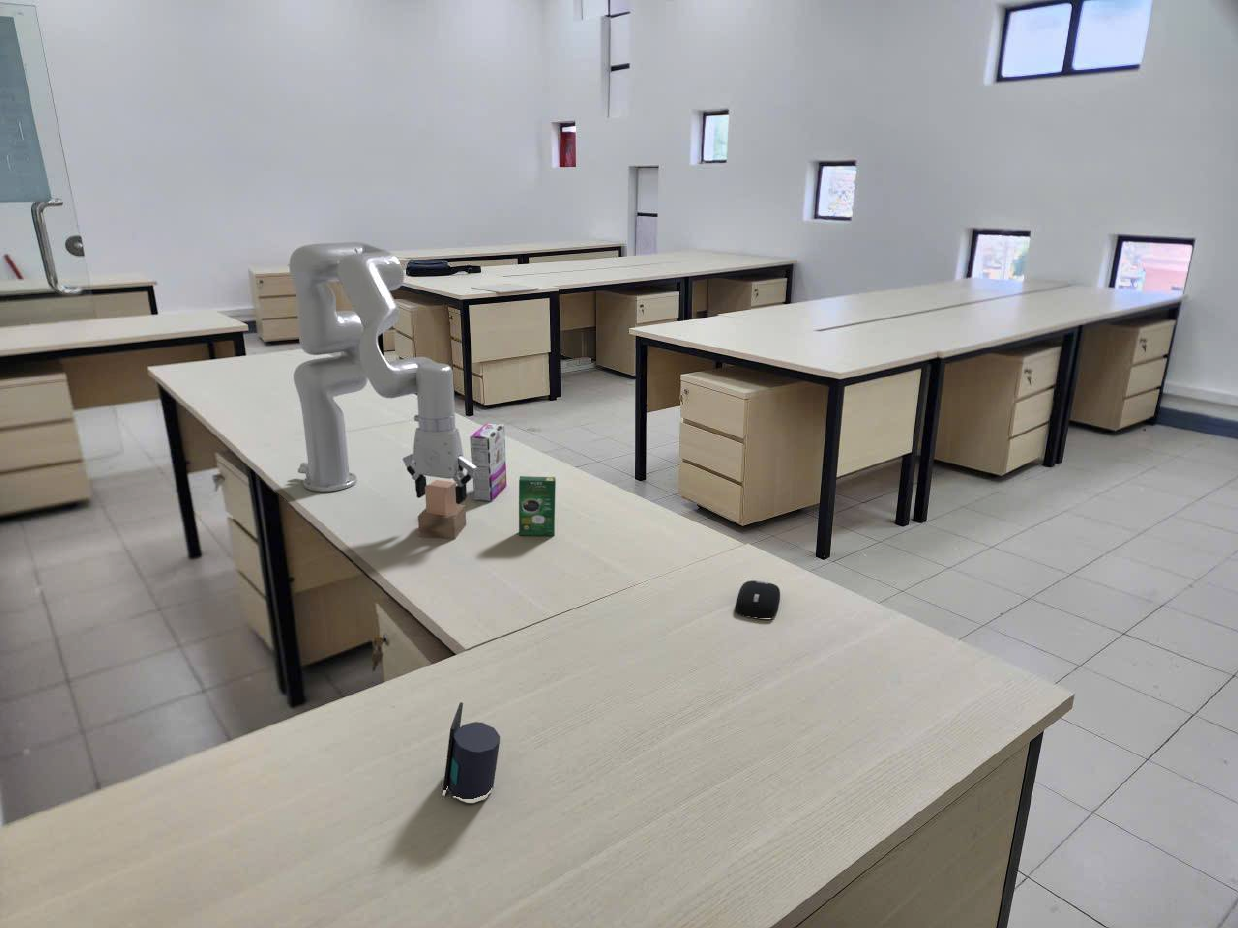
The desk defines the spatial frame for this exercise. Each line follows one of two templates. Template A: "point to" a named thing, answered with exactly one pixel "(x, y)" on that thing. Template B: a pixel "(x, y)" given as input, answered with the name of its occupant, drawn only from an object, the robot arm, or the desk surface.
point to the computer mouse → (758, 599)
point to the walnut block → (442, 524)
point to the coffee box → (537, 506)
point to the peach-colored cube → (440, 497)
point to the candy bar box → (488, 461)
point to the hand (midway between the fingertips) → (441, 498)
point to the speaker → (471, 758)
